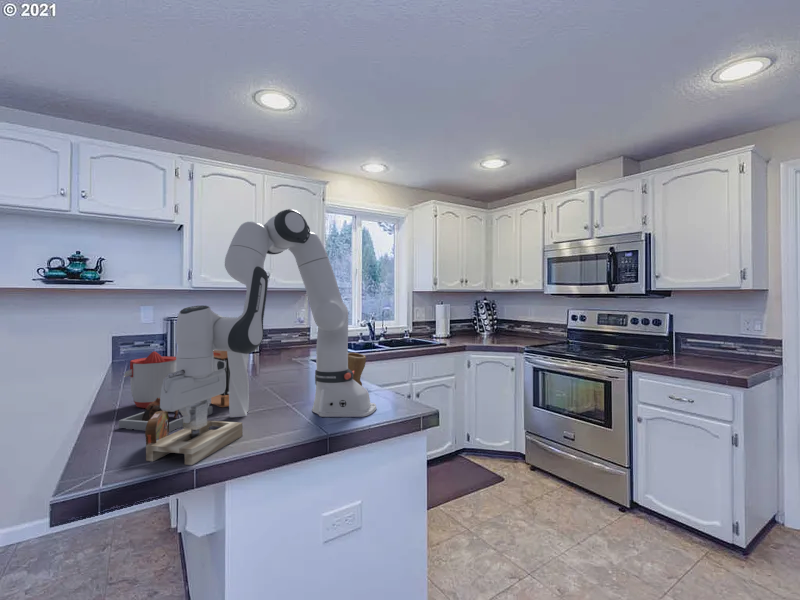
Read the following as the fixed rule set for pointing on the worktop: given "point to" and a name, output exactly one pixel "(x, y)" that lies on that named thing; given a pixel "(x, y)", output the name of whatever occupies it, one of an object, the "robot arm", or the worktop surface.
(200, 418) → the peg
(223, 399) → the whiskey bottle
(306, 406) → the worktop surface
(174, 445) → the keyhole plate
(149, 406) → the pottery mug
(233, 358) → the skyscraper
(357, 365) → the tan flared vase
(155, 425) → the tin
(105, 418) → the worktop surface
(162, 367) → the citrus juicer
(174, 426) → the grey flat square frame
